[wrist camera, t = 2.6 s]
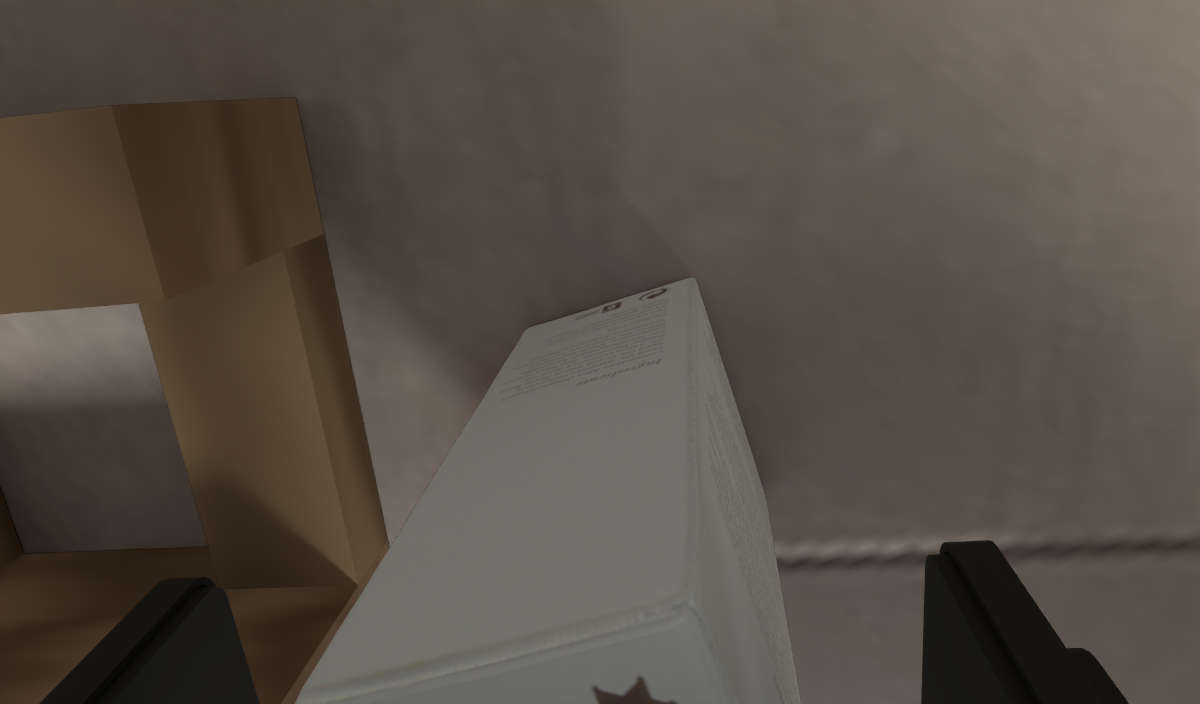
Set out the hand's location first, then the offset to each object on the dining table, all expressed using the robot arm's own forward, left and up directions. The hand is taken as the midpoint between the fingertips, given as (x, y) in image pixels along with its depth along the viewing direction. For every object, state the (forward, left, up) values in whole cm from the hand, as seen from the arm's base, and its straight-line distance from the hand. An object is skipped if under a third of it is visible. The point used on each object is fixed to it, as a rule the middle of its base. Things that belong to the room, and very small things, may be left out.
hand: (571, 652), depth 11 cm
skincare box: (-1, 0, -9) cm, 9 cm away
